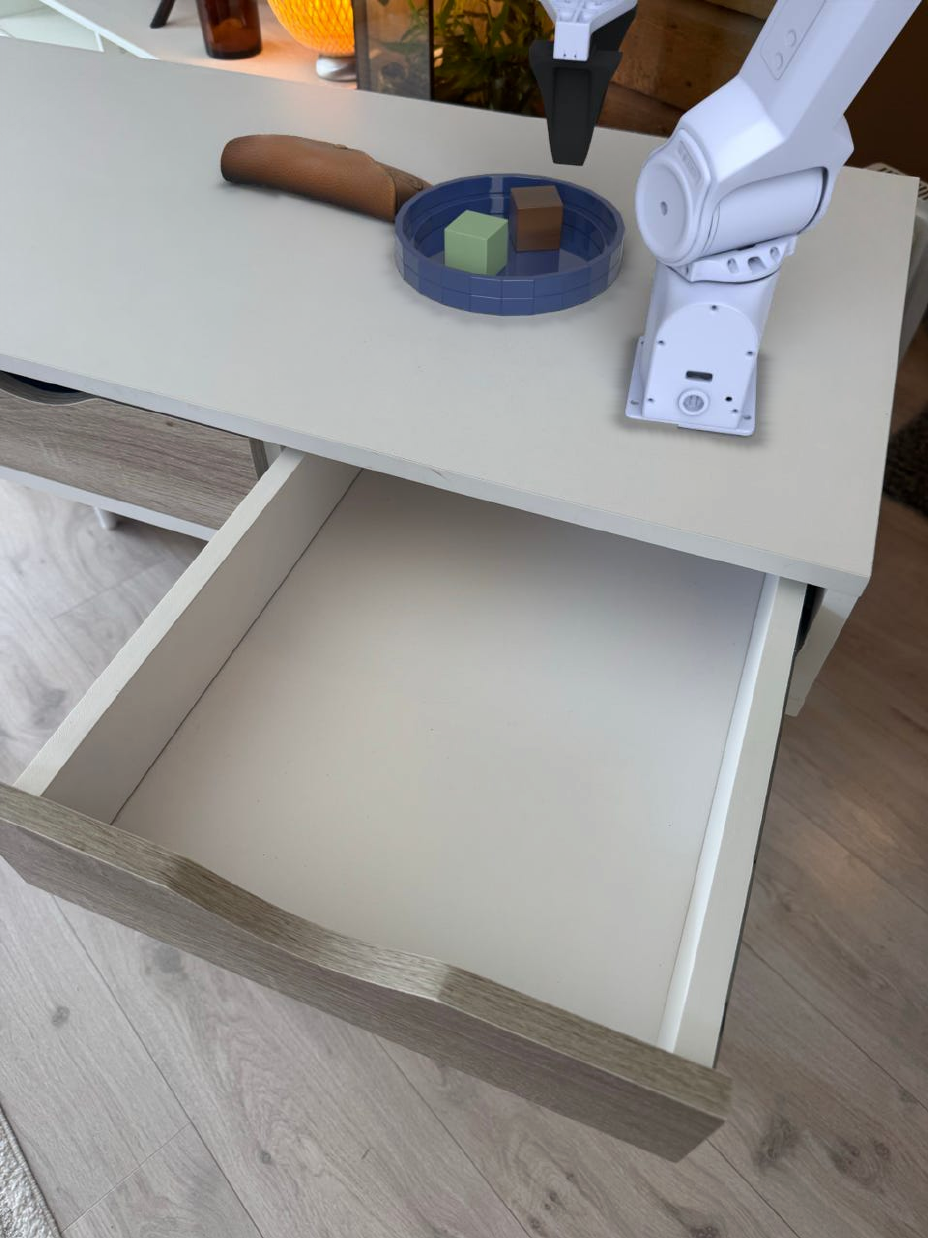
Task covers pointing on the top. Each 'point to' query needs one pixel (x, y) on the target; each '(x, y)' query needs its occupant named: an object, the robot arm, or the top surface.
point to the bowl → (510, 247)
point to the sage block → (476, 243)
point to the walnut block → (535, 218)
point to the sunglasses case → (320, 172)
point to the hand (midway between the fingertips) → (576, 141)
